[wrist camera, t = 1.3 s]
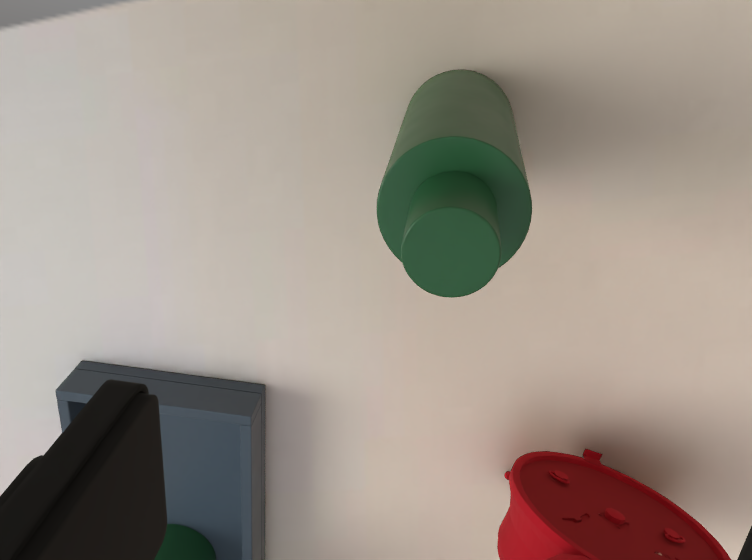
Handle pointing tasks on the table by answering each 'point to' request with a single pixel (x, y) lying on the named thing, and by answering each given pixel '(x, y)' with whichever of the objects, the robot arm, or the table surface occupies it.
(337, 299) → the table surface
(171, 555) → the bottle
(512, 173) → the loose bottle
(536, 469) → the alarm clock
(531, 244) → the table surface
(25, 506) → the robot arm
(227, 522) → the tray
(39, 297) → the table surface
